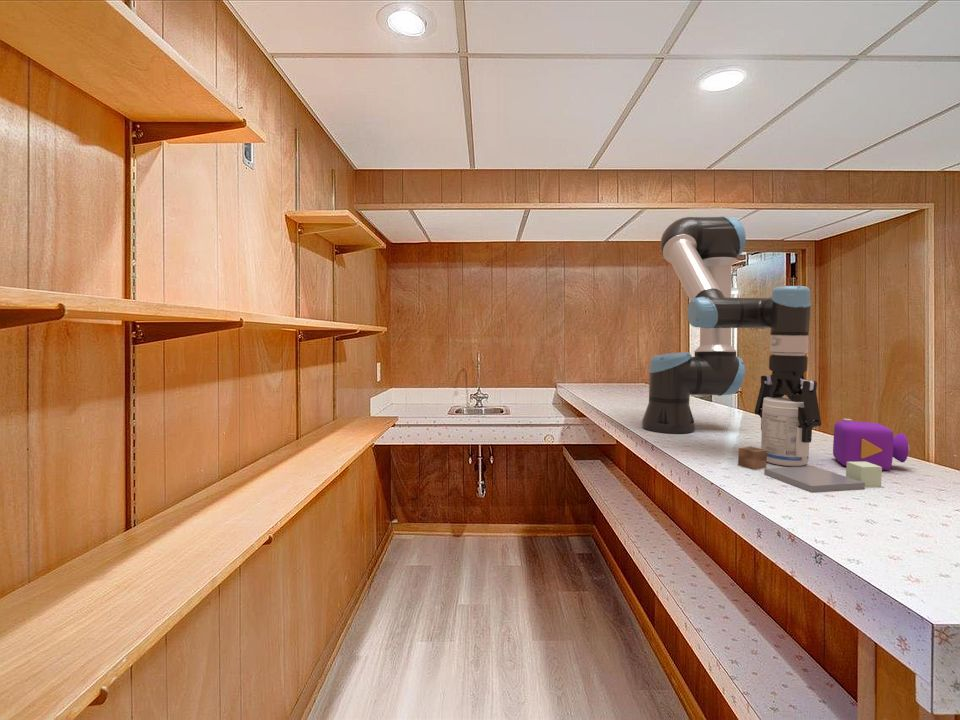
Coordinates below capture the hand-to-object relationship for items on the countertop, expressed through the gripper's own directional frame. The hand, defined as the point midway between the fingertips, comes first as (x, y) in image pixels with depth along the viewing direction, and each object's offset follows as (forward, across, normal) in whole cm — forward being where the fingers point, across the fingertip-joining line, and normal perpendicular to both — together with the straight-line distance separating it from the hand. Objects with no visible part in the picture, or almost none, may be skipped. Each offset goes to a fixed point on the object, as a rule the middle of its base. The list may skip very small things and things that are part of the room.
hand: (784, 450), depth 117 cm
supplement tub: (+3, 0, 0) cm, 3 cm away
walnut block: (+3, +2, -10) cm, 11 cm away
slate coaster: (+3, +14, -6) cm, 15 cm away
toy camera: (+3, +6, +17) cm, 18 cm away
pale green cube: (+3, +17, +3) cm, 17 cm away
